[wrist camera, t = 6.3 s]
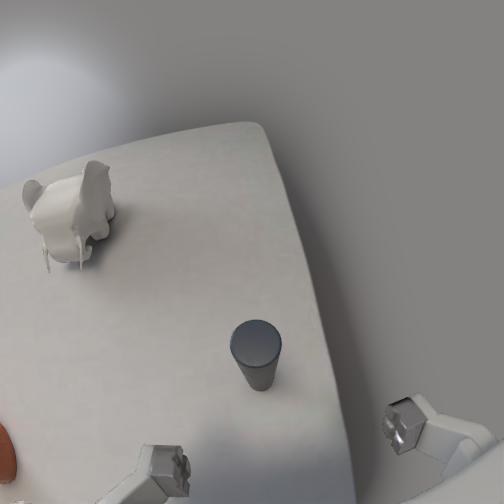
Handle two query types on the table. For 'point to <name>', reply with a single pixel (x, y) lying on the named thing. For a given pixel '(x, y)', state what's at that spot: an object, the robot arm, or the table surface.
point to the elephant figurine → (71, 212)
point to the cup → (6, 458)
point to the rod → (256, 352)
